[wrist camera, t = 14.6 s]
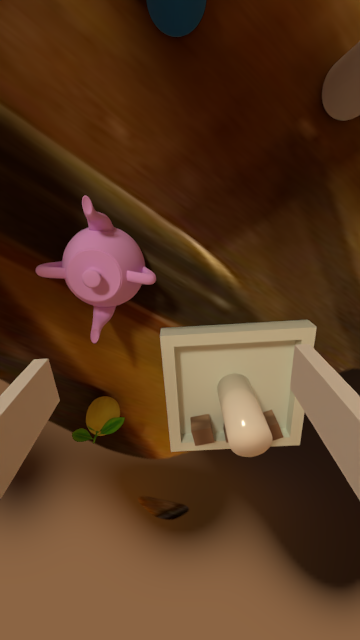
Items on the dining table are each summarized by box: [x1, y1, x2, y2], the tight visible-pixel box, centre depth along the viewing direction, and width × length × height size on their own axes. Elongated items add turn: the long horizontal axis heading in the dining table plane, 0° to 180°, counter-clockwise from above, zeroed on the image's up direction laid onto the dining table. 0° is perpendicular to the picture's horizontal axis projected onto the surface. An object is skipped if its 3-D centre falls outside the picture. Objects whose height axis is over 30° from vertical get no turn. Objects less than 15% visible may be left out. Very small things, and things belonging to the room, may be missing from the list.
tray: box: [160, 320, 317, 452], centre depth 48 cm, size 24×24×3 cm
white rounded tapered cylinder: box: [217, 373, 272, 457], centre depth 43 cm, size 6×6×12 cm
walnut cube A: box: [190, 414, 215, 446], centre depth 50 cm, size 4×4×4 cm
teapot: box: [36, 196, 156, 343], centre depth 37 cm, size 12×14×9 cm
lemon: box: [72, 396, 125, 443], centre depth 46 cm, size 7×6×10 cm
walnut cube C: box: [263, 409, 283, 441], centre depth 50 cm, size 4×4×4 cm
